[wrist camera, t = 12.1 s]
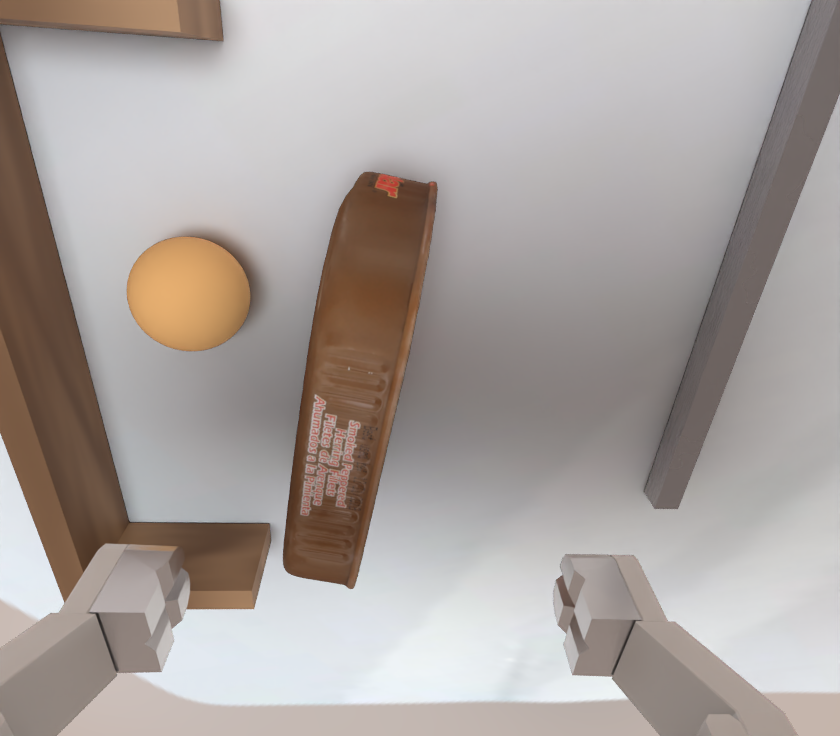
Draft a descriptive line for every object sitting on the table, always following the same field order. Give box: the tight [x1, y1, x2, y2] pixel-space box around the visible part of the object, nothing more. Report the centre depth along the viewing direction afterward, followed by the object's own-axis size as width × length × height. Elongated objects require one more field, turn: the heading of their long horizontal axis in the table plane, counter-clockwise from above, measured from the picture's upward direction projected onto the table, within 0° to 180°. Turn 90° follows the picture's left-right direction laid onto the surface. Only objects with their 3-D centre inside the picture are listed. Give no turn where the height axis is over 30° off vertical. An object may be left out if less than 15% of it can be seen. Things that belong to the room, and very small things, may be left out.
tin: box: [283, 172, 438, 589], centre depth 19 cm, size 15×3×8 cm, turn 168°
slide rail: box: [644, 0, 840, 509], centre depth 19 cm, size 1×32×1 cm, turn 177°
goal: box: [0, 0, 271, 609], centre depth 20 cm, size 8×23×4 cm, turn 176°
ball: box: [127, 237, 250, 351], centre depth 19 cm, size 4×4×4 cm
